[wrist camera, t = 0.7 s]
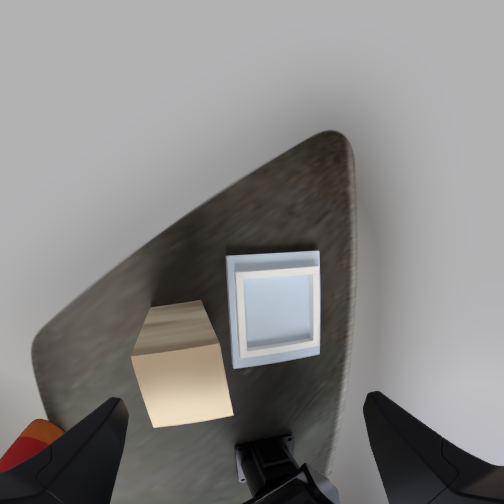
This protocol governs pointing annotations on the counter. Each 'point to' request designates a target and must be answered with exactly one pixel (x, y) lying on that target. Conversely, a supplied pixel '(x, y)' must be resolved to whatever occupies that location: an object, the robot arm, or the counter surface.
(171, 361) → the birch pillar
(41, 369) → the counter surface
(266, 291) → the board
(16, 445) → the paper cup
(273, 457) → the robot arm
